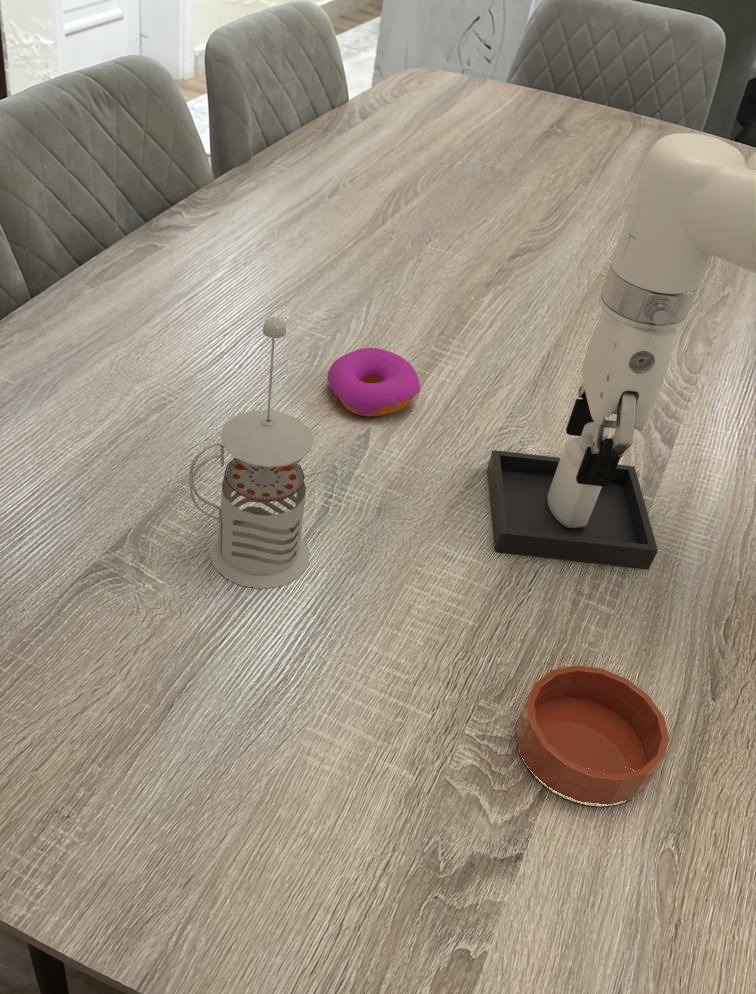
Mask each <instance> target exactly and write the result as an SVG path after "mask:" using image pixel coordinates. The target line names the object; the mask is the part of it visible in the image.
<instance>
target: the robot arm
mask: <svg viewBox="0 0 756 994" xmlns="http://www.w3.org/2000/svg"><path fill="white" fill-rule="evenodd" d="M636 184H637V185H636V187H635V190H634V192H633V197H632V200H631V202H630V205H629V208H628V211H627V214H626V217H625V220H624V223H623V227H622V229H621V231H620V234H619V238H618V241H617V244H616V247H615V250H614V253H613V256H612V259H611V262H610V265H609V268H608V271H607V274H606V277H605V280H604V283H603V286H602V289H601V292H600V294H599V298H598V302H599V303H598V304H599V306H600V307H601V309H602V310H601V312H600V314H599V316H598V320H597V322H596V325H595V327H594V330H593V332H592V336H591V338H590V340H589V343H588V347H587V349H586V353H585V356H584V360H583V364H582V368H581V378H582V383H581V384H580V386H579V388H578V392H577V397H578V398H576V399H575V402H574V404H573V408H572V410H571V413H570V416H569V419H568V421H567V425H566V427H565V428H566V429H565V432H566V434H567V435H568V436H575V437H581V434H582V432H583V429H584V426H585V425H586V424H587V423H590V422H595V423H596V427H595V432H594V437H593V442H592V447H587V449H586V451H585V454H584V457H583V460H582V462H581V465H580V468H579V470H578V473H577V476H576V481H577V483H578V484H585V485H594V486H602V487H607V486H608V485H609V484H610V482H611V480H612V477H613V475H614V472H615V470H616V467H617V465H618V464H619V462H620V460H621V458H622V457H624V454H625V452H626V451H627V450H628V449H629V448H631V446H632V445H633V440H634V430H637V431H640V432H641V431H643V430H645V429H646V427H647V426H648V424H649V421H650V419H651V416H652V414H653V411H654V408H655V406H656V402H657V400H658V397H659V394H660V392H661V389H662V386H663V383H664V380H665V377H666V374H667V371H668V367H669V364H670V361H671V357H672V354H673V351H674V346H675V342H676V337H677V329H678V328H680V327H681V326H683V324H685V322H686V320H687V317H688V315H689V312H690V310H691V308H692V305H693V302H694V300H695V298H696V296H697V293H698V291H699V288H700V285H701V284H702V283H701V282H702V281H703V278H704V276H705V273H706V271H707V269H708V266H709V264H710V261H711V259H712V256H714V257H716V258H719V259H721V260H724V261H726V262H728V263H730V264H732V265H735V266H737V267H738V268H742V269H743V270H746V271H749V272H751V273H754V274H756V151H755V152H754V153H753V154H752V155H751V156H749V158H748V159H747V161H745V157H744V155H743V154H742V153H741V152H740V150H739V149H738V148H737V147H735V146H733V145H731V144H730V143H728V142H727V141H724V140H722V139H719V138H716V137H713V136H709V135H706V134H700V133H694V132H693V133H692V132H678V133H670V134H667V135H665V136H663V137H661V138H659V139H658V140H657V141H656V142H655V143H654V144H653V145H652V146H651V148H650V150H649V151H648V153H647V156H646V158H645V161H644V164H643V166H642V170H641V173H640V176H639V179H638V180H637V183H636ZM611 415H616V420H613V419H606V418H609V417H610V416H611ZM605 427H607V428H608V429H615V431H614V434H613V435H612V437H608V438H607V439H605V440H602V438H603V433H604V429H605Z"/></svg>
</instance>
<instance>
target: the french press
mask: <svg viewBox="0 0 756 994" xmlns="http://www.w3.org/2000/svg"><path fill="white" fill-rule="evenodd" d="M262 334H263V335H264V336H265V337H267V338H271V350H270V351H271V352H270V367H269V368H270V369H269V381H268V382H269V383H268V395H267V396H268V397H267V398H268V400H267V409H256V410H249V411H246V412H243V413H241V414H237V415H235V416H232V417H231V418H230V419H229V420H228V421H226V422H225V423H224V424H223V426H222V428H221V432H220V434H219V435H220V439H221V442H222V443H219V442H216V443H213V444H211V445H208V446H206V447H204V448H203V449H202V450H200V451H199V452H198V453H197V454H196V456H195V457H194V458H193V460H192V461H191V464H190V467H189V483H188V484H189V492H190V493H189V494H190V495H189V496H190V499H191V501H192V503H193V505H194V507H196V509H197V510H198V511H200V512H201V513H202V514H203V515H204V516H207V517H209V518H210V519H214V520H216V521H217V522H218V533H217V534H216V535H215V536H214V537H213V538H212V539H211V542H210V546H209V550H208V555H209V554H210V556H209V558H210V557H211V559H210V562H211V561H212V562H211V565H212V564H213V566H214V567H215V568H216V569H217V570H218V571H219V572H220V573H221V574H222V575H223V576H224V577H226V578H227V579H229V580H228V581H230V580H231V581H230V582H232V581H234V582H235V583H234V582H233V583H234V584H236V585H238V584H239V585H238V586H240V585H241V586H240V587H245V586H247V587H246V588H251V587H253V588H252V589H258V590H259V589H260V590H264V589H272V588H273V589H274V588H279V586H280V587H283V586H285V585H287V584H290V583H291V582H293V581H296V580H298V579H299V578H300V576H301V575H302V574H303V573H304V572H305V570H306V569H307V568H308V566H309V560H310V555H311V553H310V550H309V548H308V545H307V543H306V540H305V539H304V538H303V537H302V532H303V531H302V530H303V521H304V512H305V503H306V493H307V487H306V486H307V485H306V483H305V477H306V476H305V473H304V471H303V468H302V466H301V465H300V464H299V462H301V461H302V460H303V459H304V458H305V457H306V456H307V455H308V454H309V453H310V452H311V451H312V448H313V443H314V435H313V433H312V431H311V428H310V427H309V426H308V425H306V424H305V423H304V422H303V421H301V420H300V419H299V418H297V417H295V416H293V415H290V414H287V413H284V412H282V411H279V410H275V409H271V402H272V401H271V400H272V386H273V373H274V370H273V369H274V358H275V357H274V355H275V342H276V341H275V340H276V339H281V338H283V337H285V336H286V334H287V323H285V322H284V321H283V320H282V319H280V318H279V317H278V316H270V317H268V318H267V319H265V321H264V323H263V326H262ZM216 446H219V448H220V454H214V455H211V456H209V457H207V458H204V459H203V460H202V462H200V463H199V464H198V465H197V466H196V467H195V465H196V463H197V462H198V461H199V458H200V456H202V455H203V454H204V453H205V452H207V451H208V450H210V449H212V448H214V447H216ZM224 449H225V450H226V452H227V453H229V454H230V455H231V456H232V457H233V458H232V459H231V460H230V461H229V462H228V463H227V464H226V466H225V457H224ZM217 458H218V459H220V467H224V466H225V467H226V468H225V470H224V474H223V478H222V482H221V501H220V502H221V503H220V506H221V507H220V506H218V505H216V504H214V503H212V502H210V501H208V500H206V499H205V498H203V497H202V496H201V495H200V494H199V492H198V491H197V489H196V487H195V485H194V479H195V477H196V474H197V472H198V471H199V469H200V468H202V467H203V466H204V465H205V464H206V463H207V462H208V461H211V460H214V459H217ZM194 468H195V469H194ZM233 493H235V494H233ZM232 494H233V495H232ZM295 494H296V496H295ZM195 496H196V498H198V499H199V500H200V501H201V502H203V504H206V505H208V506H211V507H213V508H215V509H217V511H218V517H217V516H216V515H213V514H211V513H208V512H206V511H205V510H204V509H202V507H200V506H199V504H198V502H197V501H196V499H195ZM239 497H243V498H242V499H240V500H238V501H237V502H235V501H236V500H237V499H238V498H239ZM286 499H289V500H290V501H292V502H294V503H295V506H293V505H292V504H291V503H289V502H287V501H286ZM233 502H235V504H232V503H233ZM272 502H276V503H278V504H280V505H281V506H283V507H284V508H286V509H288V510H287V511H285V510H283V509H282V508H281V507H279V506H277V505H276V504H274V503H272ZM248 503H260V504H262V505H264V506H266V507H268V508H270V509H271V510H273V511H274V512H275V513H276V514H274V513H272V512H270V511H268V510H266V509H264V508H263V507H261V506H251V505H249V506H248V505H247V506H246V507H244V508H242V509H240V508H239V507H241V506H243V505H245V504H248ZM213 566H212V567H213ZM214 567H213V568H214ZM215 568H214V569H215ZM216 569H215V570H216ZM217 570H216V571H217ZM218 571H217V572H218ZM219 572H218V573H219ZM220 573H219V574H220ZM221 574H220V575H221ZM222 575H221V576H222ZM223 576H222V577H223ZM224 577H223V578H224ZM227 579H226V580H227ZM270 587H272V588H270Z"/></svg>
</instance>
